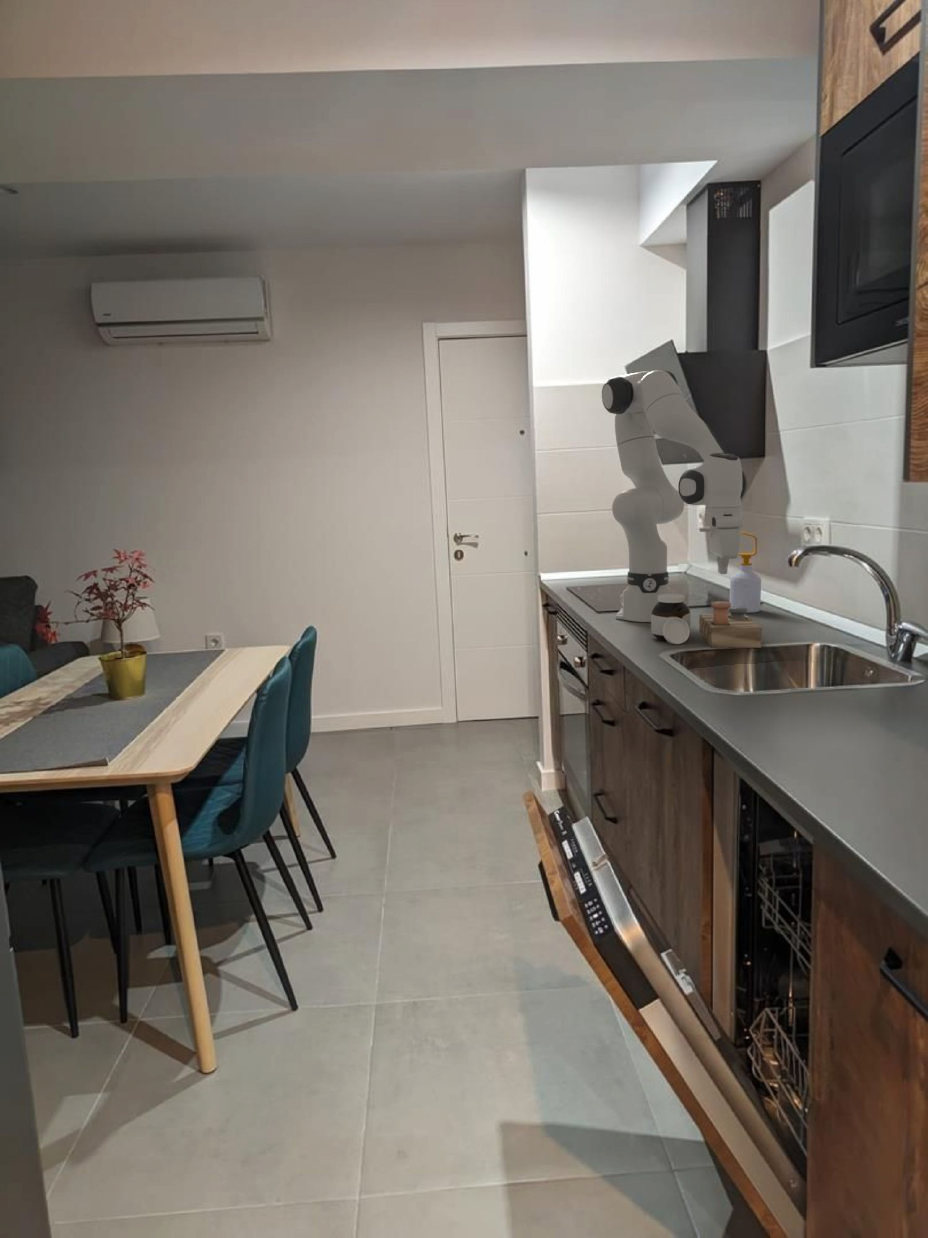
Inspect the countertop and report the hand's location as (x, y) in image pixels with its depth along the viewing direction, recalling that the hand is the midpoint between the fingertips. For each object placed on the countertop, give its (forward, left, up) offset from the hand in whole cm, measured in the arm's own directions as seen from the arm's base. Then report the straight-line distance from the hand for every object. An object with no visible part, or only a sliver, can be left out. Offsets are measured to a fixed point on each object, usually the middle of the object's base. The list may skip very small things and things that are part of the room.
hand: (722, 573), depth 214 cm
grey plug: (-9, +6, -17) cm, 21 cm away
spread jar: (-4, -12, -18) cm, 22 cm away
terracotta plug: (0, 0, -15) cm, 15 cm away
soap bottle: (-49, +16, -18) cm, 54 cm away
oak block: (-5, +3, -18) cm, 19 cm away
